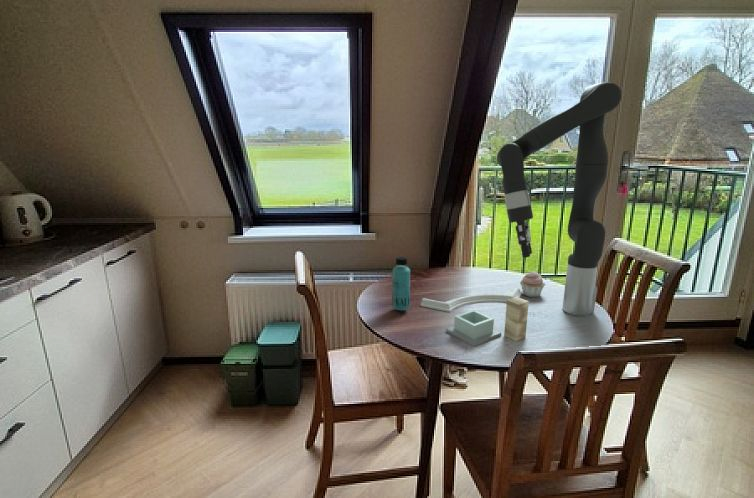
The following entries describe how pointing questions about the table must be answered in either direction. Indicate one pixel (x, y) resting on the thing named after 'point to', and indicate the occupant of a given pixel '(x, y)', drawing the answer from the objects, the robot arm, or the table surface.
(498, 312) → the table surface
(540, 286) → the cupcake
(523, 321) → the wooden block
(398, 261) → the beverage bottle
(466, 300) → the molding
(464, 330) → the square socket base
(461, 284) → the table surface
